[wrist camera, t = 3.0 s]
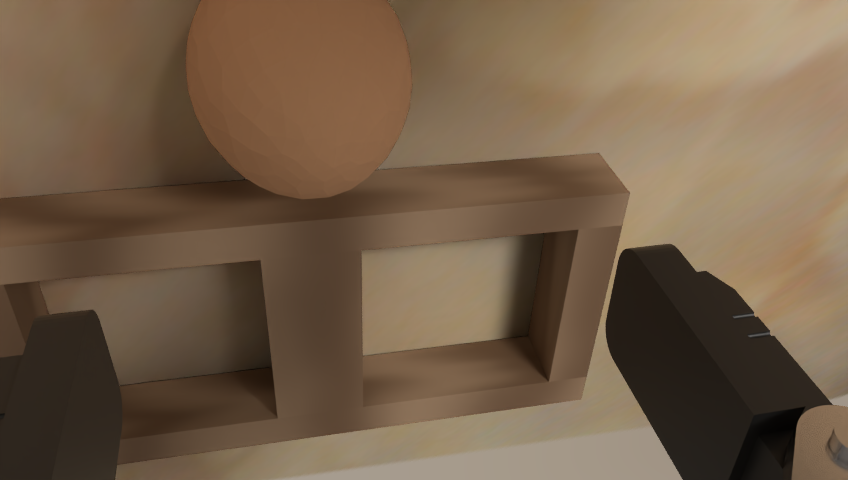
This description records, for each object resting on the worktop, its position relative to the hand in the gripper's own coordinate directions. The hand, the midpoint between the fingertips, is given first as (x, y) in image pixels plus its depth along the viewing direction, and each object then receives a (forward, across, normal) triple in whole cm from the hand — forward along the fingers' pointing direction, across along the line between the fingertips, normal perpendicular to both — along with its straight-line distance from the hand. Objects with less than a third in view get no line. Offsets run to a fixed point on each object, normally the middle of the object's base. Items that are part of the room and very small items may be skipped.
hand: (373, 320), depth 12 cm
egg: (+12, 0, -1) cm, 12 cm away
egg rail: (+12, +1, +9) cm, 15 cm away
